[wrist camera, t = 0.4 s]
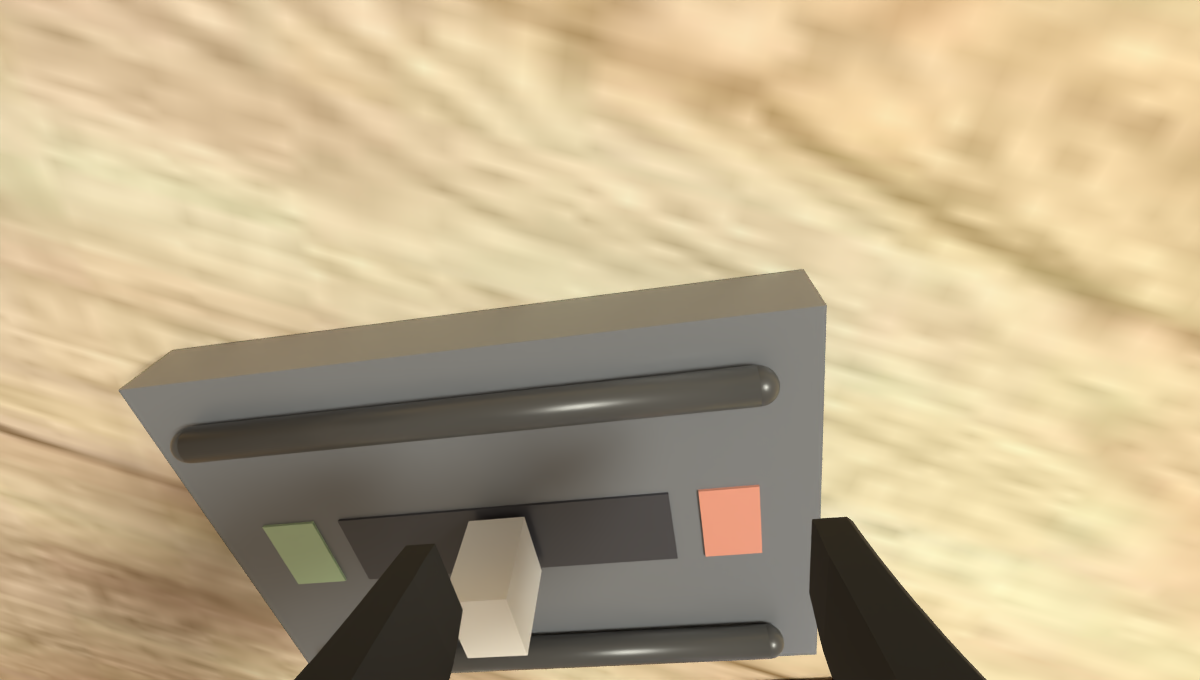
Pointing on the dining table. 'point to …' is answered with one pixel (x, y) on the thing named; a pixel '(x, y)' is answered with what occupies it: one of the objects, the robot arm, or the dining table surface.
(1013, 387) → the dining table surface
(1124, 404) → the dining table surface
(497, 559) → the breaker toggle
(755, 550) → the breaker panel
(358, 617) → the robot arm
